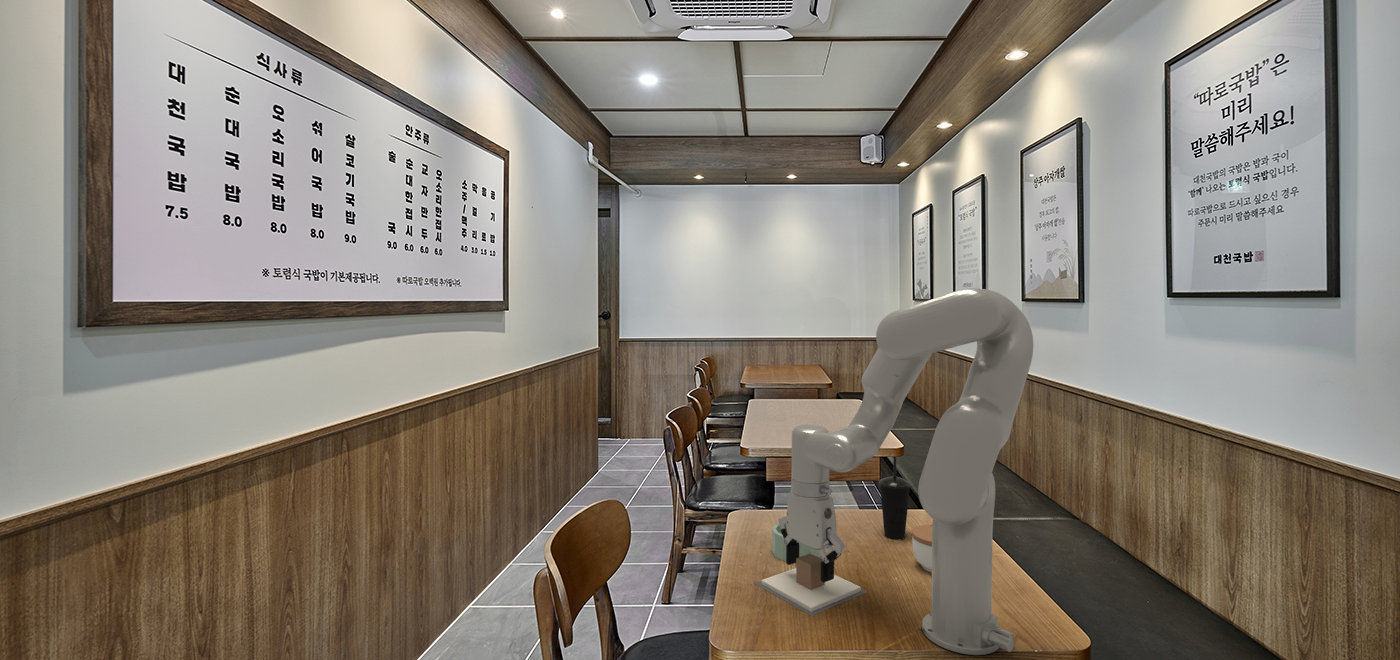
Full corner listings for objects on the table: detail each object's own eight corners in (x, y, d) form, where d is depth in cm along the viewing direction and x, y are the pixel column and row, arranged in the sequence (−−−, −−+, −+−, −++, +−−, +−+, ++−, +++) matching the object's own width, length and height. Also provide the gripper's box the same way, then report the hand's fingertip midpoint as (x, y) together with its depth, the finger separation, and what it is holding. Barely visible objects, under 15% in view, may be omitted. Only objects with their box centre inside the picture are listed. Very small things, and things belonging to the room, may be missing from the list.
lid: (860, 591, 118) (861, 562, 117) (811, 612, 110) (811, 581, 109) (809, 566, 129) (809, 540, 129) (761, 583, 121) (761, 556, 121)
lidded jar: (975, 575, 126) (975, 532, 125) (932, 582, 123) (932, 537, 122) (941, 555, 136) (941, 515, 136) (901, 561, 133) (901, 520, 133)
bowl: (831, 557, 135) (831, 531, 135) (796, 569, 129) (796, 542, 129) (797, 542, 144) (797, 518, 144) (763, 553, 138) (763, 527, 138)
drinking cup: (872, 532, 150) (872, 454, 150) (898, 529, 153) (898, 452, 152) (890, 543, 143) (891, 461, 142) (917, 539, 145) (917, 459, 145)
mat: (868, 594, 117) (868, 591, 117) (811, 619, 108) (811, 615, 108) (809, 566, 130) (809, 563, 130) (754, 586, 121) (754, 583, 121)
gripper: (856, 495, 114) (855, 582, 114) (793, 474, 128) (792, 552, 129) (829, 502, 109) (829, 593, 110) (767, 480, 124) (766, 561, 124)
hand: (809, 571), depth 119 cm, fingers open, 9 cm apart
